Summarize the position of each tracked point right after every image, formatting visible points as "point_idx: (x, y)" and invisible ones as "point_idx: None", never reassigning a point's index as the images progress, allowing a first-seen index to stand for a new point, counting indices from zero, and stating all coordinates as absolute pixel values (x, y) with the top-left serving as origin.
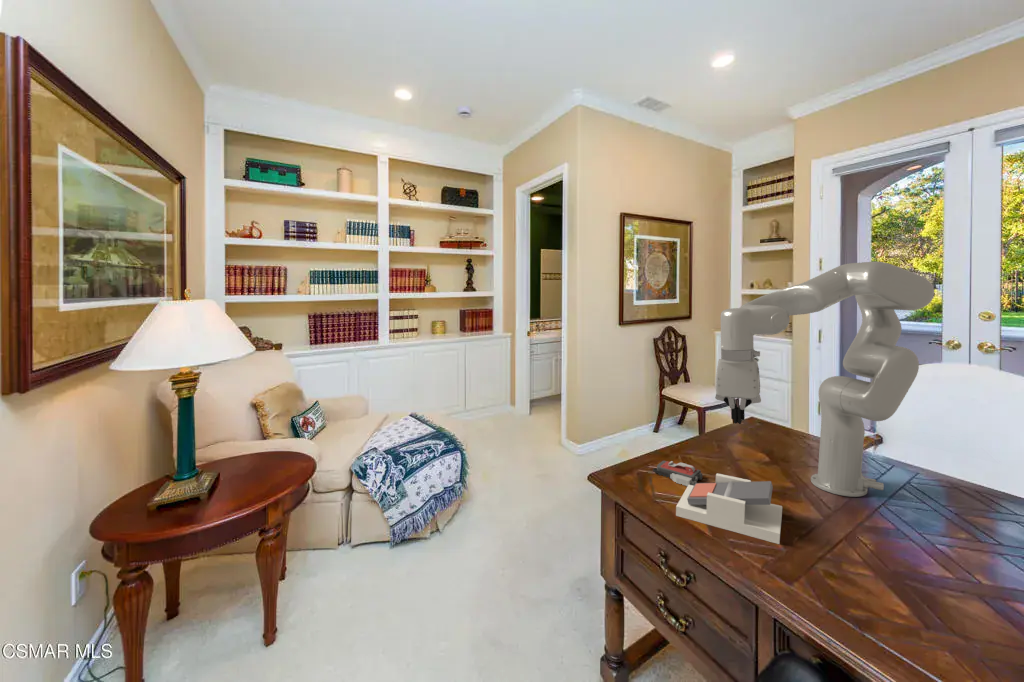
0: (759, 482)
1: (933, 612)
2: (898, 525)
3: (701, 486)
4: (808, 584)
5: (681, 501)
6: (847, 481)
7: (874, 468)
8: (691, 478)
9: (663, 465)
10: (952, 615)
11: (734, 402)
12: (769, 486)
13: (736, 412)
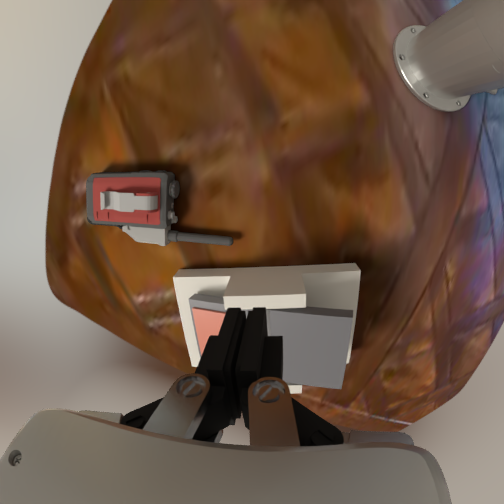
0: (327, 321)
1: (450, 368)
2: (491, 193)
3: (207, 326)
4: (364, 398)
5: (191, 349)
6: (462, 96)
7: None
8: (164, 230)
9: (96, 212)
10: (461, 362)
11: (199, 411)
12: (347, 344)
13: (240, 407)
